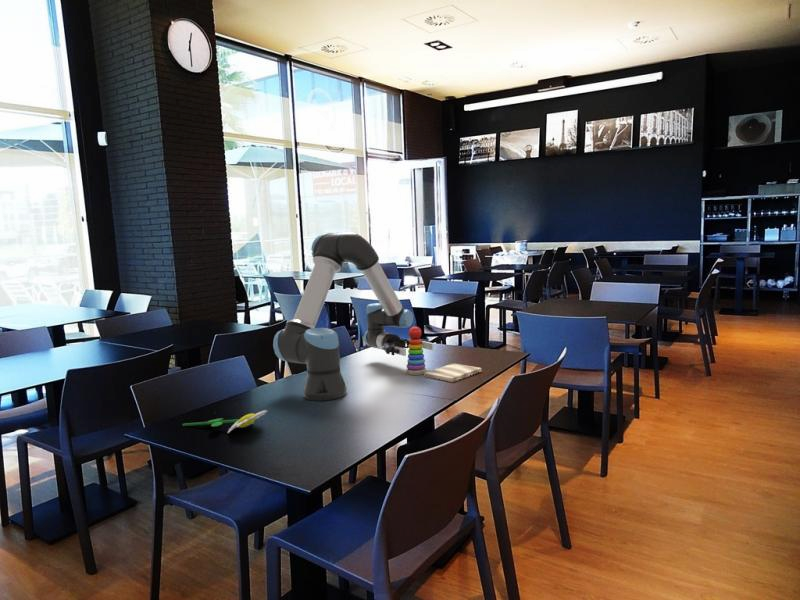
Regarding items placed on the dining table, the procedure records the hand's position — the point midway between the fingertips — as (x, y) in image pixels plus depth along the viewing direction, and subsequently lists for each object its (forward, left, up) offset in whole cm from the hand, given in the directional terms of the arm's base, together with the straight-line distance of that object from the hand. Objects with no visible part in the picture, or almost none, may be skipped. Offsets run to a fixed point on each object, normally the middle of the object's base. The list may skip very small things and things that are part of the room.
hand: (419, 349), depth 217 cm
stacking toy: (0, +2, -10) cm, 10 cm away
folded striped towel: (+7, -11, -10) cm, 16 cm away
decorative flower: (-80, +7, -10) cm, 81 cm away
